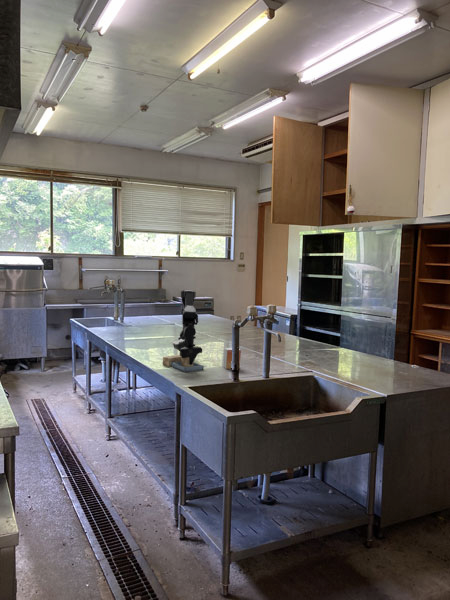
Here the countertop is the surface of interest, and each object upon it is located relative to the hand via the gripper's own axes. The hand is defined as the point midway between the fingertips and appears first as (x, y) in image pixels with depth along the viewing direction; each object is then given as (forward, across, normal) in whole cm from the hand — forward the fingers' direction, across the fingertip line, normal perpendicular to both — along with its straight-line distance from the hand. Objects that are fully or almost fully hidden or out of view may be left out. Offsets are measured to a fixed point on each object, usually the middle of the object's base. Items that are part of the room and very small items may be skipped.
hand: (187, 363), depth 248 cm
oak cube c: (+3, -10, -5) cm, 12 cm away
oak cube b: (+3, -10, 0) cm, 10 cm away
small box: (+3, +9, +23) cm, 25 cm away
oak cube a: (+2, 0, 0) cm, 2 cm away
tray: (+2, 0, 0) cm, 2 cm away
